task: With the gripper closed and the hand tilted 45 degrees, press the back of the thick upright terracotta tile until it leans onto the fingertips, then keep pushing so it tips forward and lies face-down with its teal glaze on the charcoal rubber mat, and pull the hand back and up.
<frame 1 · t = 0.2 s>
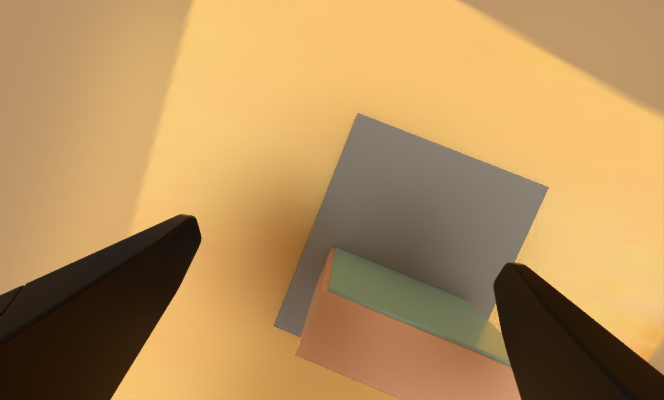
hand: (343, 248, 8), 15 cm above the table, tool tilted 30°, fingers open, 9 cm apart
tile: (402, 322, 18), point 5 cm above the table, touching mat
mat: (403, 257, 22), on the table
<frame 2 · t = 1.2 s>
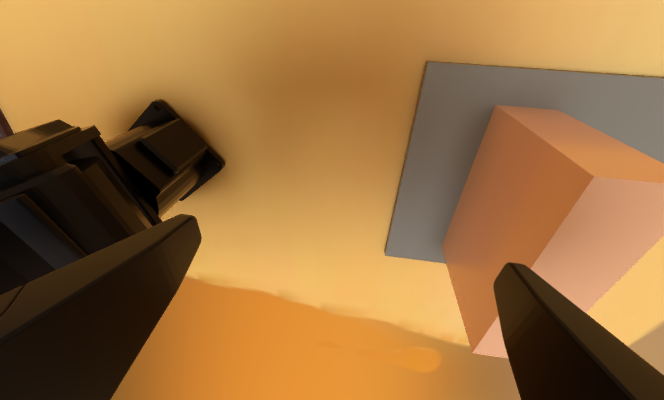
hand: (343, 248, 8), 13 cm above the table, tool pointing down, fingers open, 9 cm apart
tile: (515, 230, 16), point 5 cm above the table, touching mat
mat: (530, 190, 20), on the table
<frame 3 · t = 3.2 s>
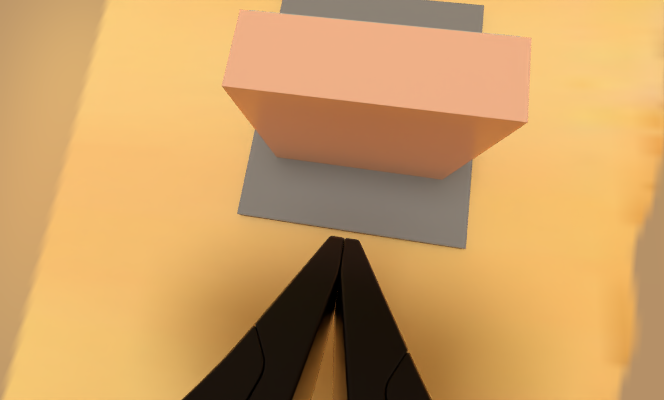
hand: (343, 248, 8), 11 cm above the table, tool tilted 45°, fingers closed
tile: (365, 115, 15), point 5 cm above the table, touching mat
mat: (365, 108, 21), on the table
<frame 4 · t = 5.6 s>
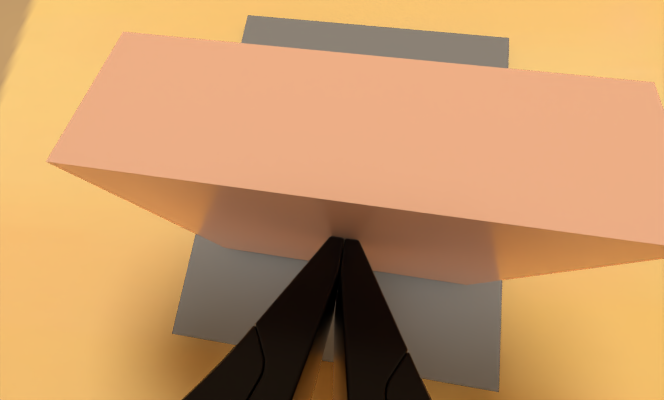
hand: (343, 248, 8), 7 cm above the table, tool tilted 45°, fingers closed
tile: (350, 199, 10), point 5 cm above the table, tilted 10°, touching mat
mat: (353, 177, 15), on the table
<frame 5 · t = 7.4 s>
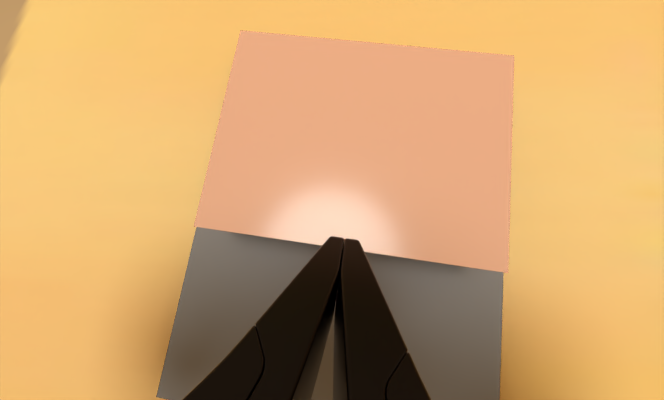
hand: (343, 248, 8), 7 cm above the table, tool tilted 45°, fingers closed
tile: (357, 153, 13), point 3 cm above the table, tilted 90°, touching mat
mat: (346, 227, 15), on the table
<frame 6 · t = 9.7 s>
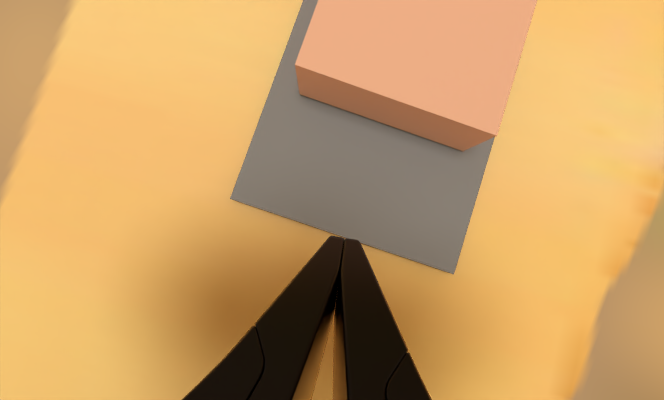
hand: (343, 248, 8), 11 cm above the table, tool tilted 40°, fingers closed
tile: (410, 47, 17), point 3 cm above the table, tilted 90°, touching mat
mat: (383, 111, 19), on the table
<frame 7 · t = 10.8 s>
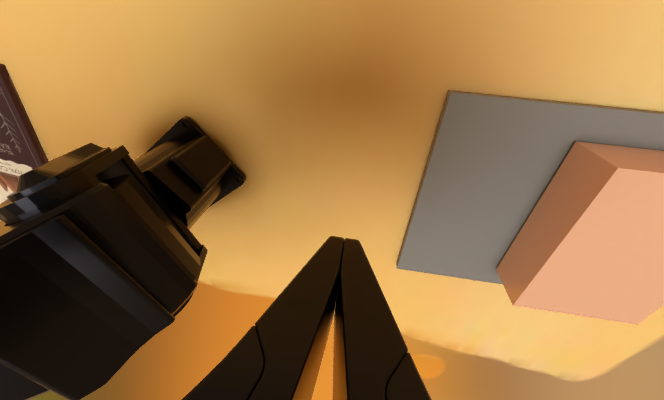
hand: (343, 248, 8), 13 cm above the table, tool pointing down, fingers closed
tile: (609, 241, 18), point 3 cm above the table, tilted 90°, touching mat
mat: (541, 211, 21), on the table
chocolate bar: (11, 153, 26), on the table
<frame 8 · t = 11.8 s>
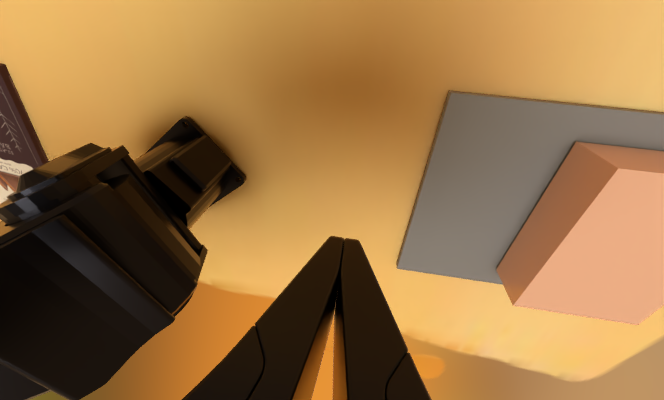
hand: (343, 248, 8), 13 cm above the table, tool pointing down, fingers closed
tile: (609, 241, 18), point 3 cm above the table, tilted 90°, touching mat
mat: (541, 211, 21), on the table
chocolate bar: (11, 152, 26), on the table
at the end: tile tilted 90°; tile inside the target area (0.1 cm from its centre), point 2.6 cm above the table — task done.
